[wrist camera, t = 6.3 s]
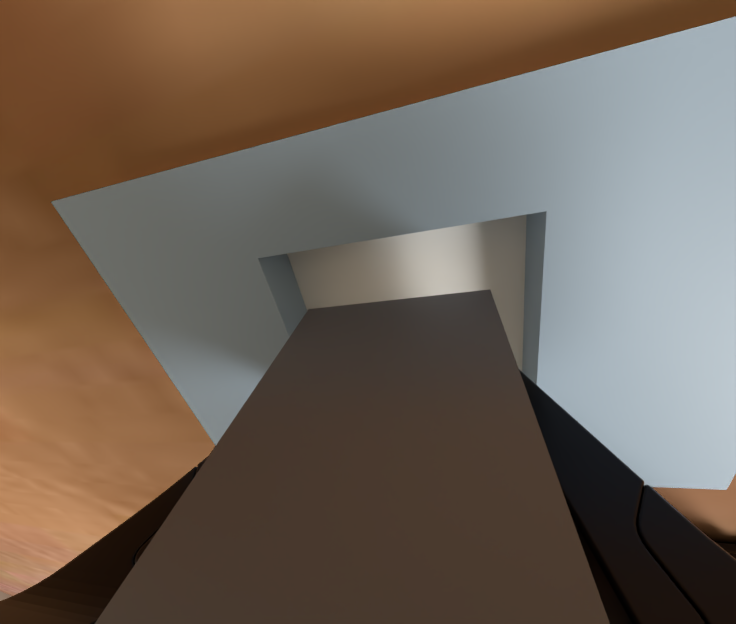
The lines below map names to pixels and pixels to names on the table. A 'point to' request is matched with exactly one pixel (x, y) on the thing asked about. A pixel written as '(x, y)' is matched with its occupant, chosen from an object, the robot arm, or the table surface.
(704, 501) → the table surface
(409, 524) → the plug
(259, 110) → the table surface
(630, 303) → the socket
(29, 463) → the table surface
